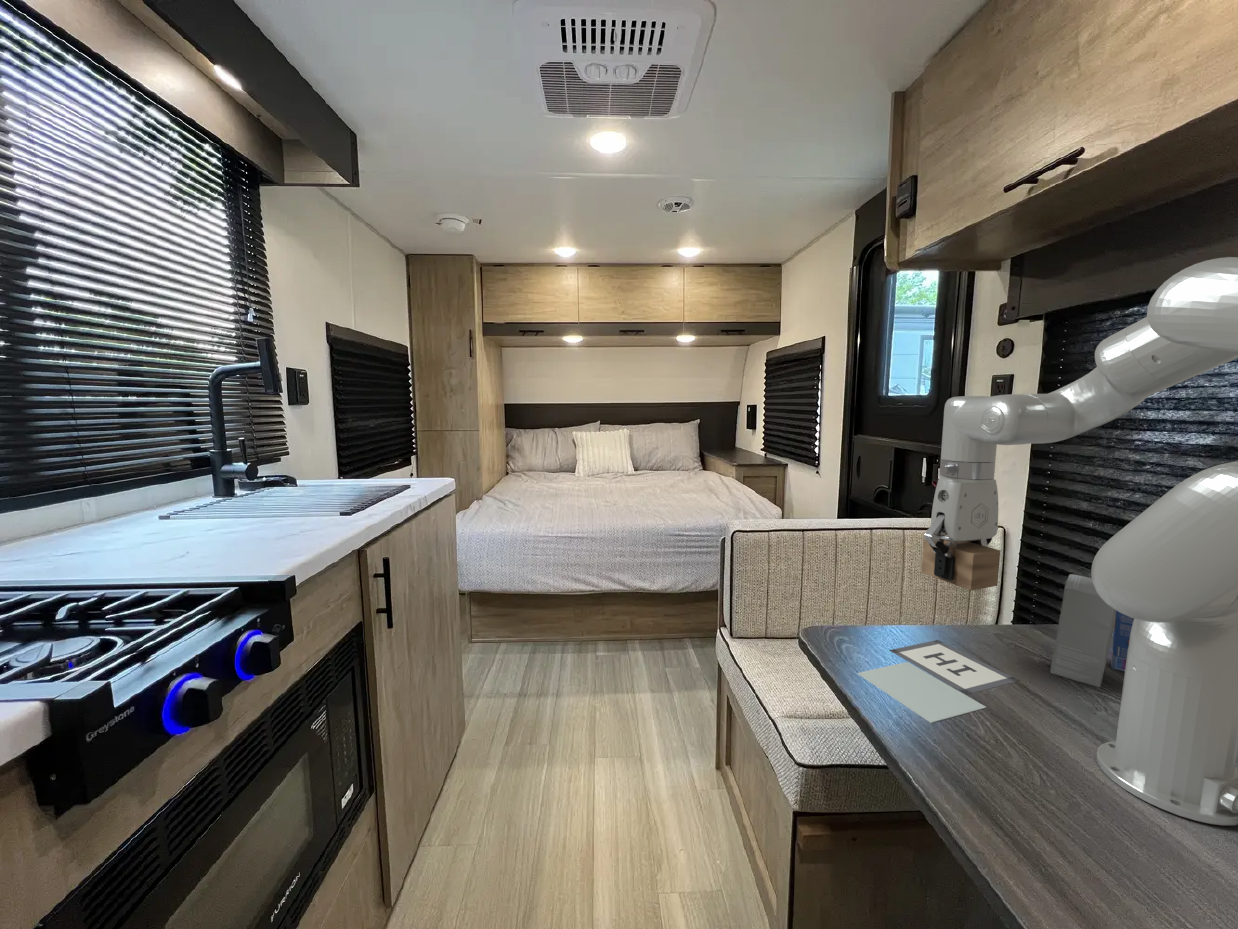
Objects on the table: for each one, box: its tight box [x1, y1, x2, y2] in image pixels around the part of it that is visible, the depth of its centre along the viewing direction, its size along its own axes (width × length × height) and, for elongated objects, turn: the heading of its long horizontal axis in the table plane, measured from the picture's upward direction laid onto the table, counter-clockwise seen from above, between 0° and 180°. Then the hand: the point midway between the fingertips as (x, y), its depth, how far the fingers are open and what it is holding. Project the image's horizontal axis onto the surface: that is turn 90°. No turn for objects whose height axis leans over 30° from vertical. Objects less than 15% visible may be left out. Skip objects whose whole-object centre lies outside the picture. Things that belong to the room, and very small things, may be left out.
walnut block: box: [921, 539, 1002, 591], centre depth 87 cm, size 9×6×6 cm, turn 19°
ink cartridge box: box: [1110, 611, 1134, 673], centre depth 88 cm, size 10×6×14 cm, turn 135°
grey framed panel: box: [888, 639, 1020, 696], centre depth 89 cm, size 15×12×1 cm
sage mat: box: [857, 661, 987, 724], centre depth 82 cm, size 14×11×1 cm
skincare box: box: [1050, 573, 1116, 688], centre depth 85 cm, size 8×7×16 cm
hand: (958, 574), depth 87 cm, fingers closed on walnut block, 6 cm apart
